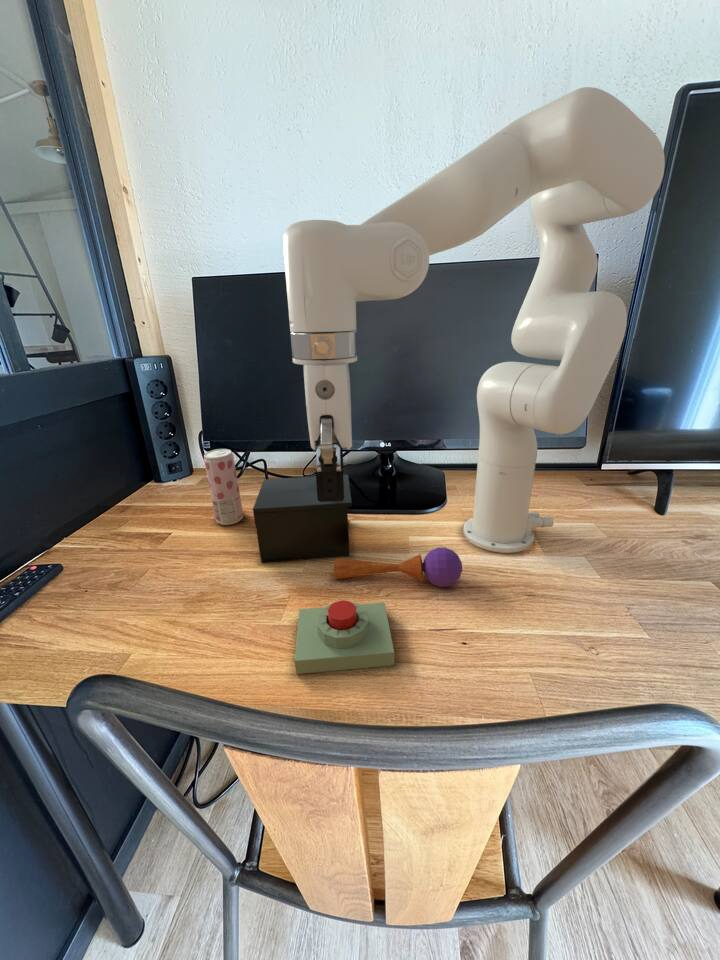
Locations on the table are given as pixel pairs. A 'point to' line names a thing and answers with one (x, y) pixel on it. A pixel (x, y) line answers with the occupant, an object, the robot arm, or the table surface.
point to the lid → (295, 495)
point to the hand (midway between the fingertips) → (331, 484)
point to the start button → (342, 615)
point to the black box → (302, 534)
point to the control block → (343, 640)
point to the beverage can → (223, 486)
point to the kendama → (408, 567)
